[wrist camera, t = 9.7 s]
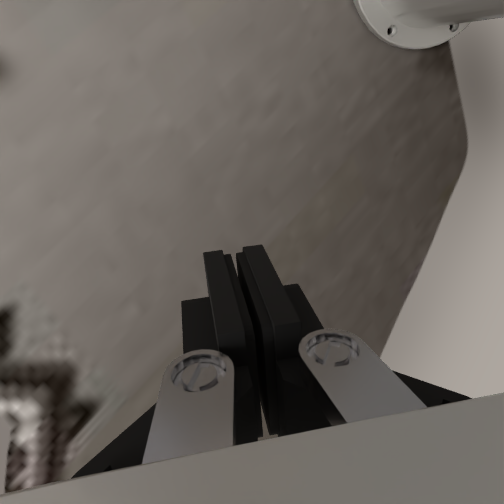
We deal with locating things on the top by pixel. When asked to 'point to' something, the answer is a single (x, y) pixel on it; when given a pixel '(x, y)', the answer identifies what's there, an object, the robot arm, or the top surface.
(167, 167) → the top surface
